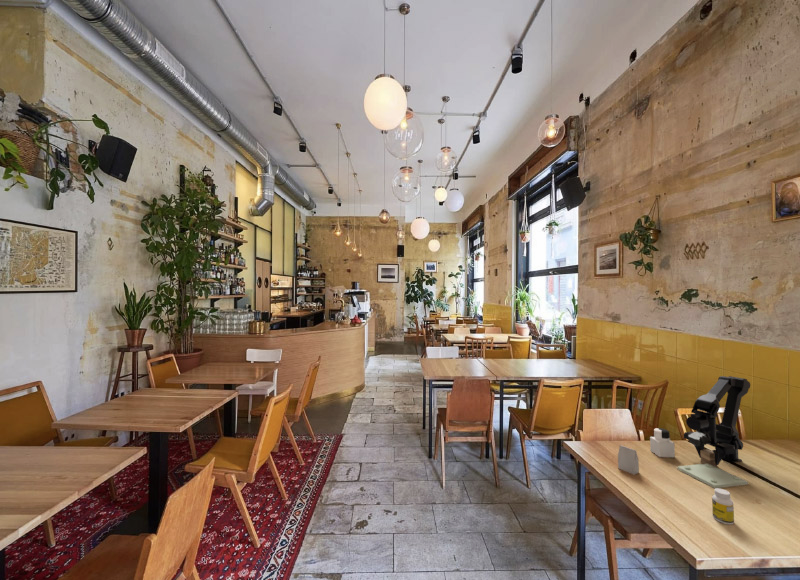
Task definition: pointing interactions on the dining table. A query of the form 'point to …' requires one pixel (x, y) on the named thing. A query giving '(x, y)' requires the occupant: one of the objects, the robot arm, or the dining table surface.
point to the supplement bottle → (722, 506)
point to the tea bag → (628, 460)
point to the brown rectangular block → (708, 457)
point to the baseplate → (712, 475)
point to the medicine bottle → (662, 443)
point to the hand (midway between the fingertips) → (708, 461)
